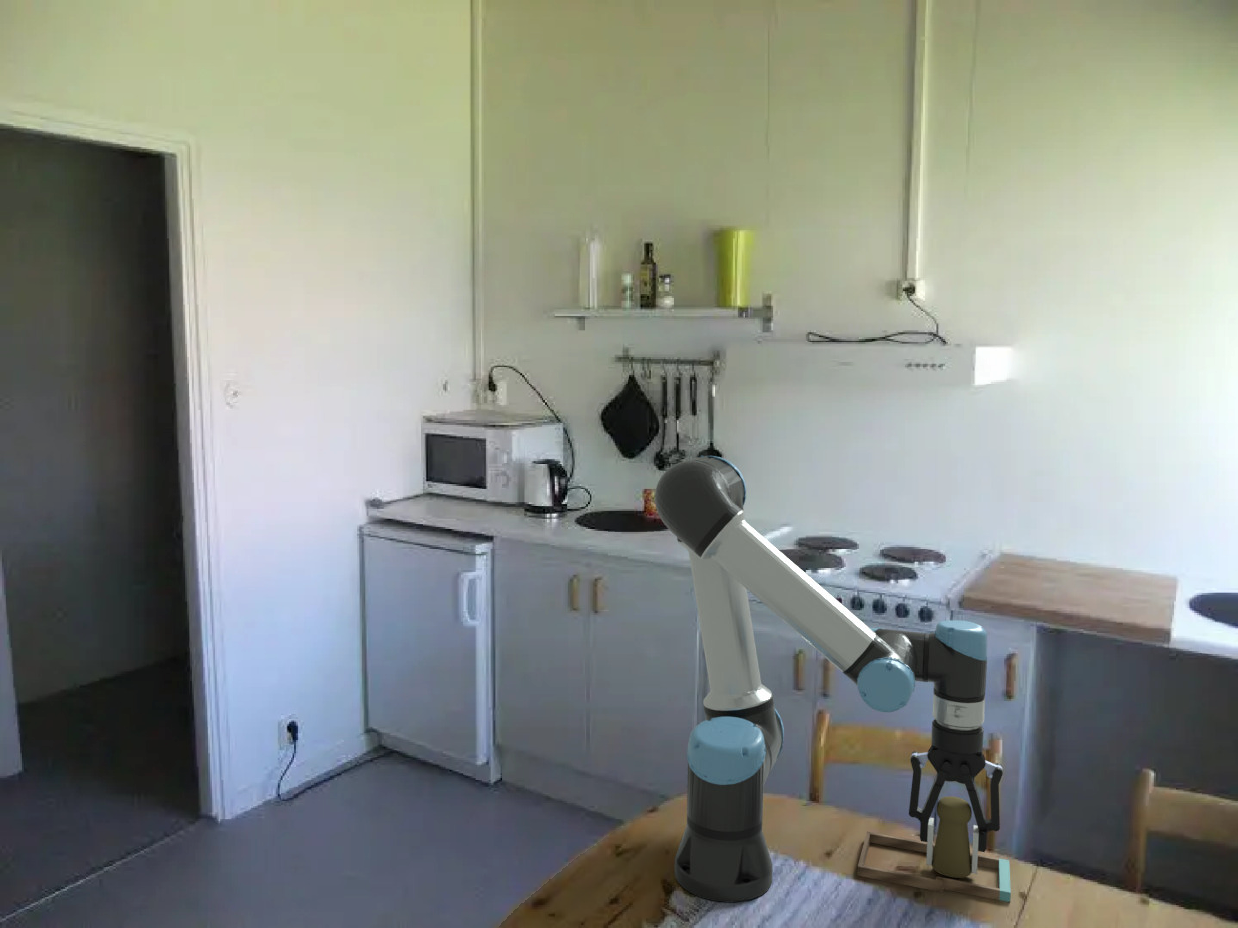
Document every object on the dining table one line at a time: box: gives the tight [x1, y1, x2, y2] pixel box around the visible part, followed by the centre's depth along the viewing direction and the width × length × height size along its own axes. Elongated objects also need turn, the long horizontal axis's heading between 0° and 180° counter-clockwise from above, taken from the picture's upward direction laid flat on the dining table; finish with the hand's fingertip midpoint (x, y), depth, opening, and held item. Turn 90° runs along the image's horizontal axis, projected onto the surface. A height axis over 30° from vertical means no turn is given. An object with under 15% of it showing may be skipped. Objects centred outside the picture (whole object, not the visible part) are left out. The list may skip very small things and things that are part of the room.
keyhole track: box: [857, 831, 1012, 903], centre depth 149 cm, size 22×12×2 cm, turn 69°
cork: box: [930, 795, 973, 879], centre depth 147 cm, size 6×6×11 cm
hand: (951, 864), depth 148 cm, fingers closed on cork, 6 cm apart
